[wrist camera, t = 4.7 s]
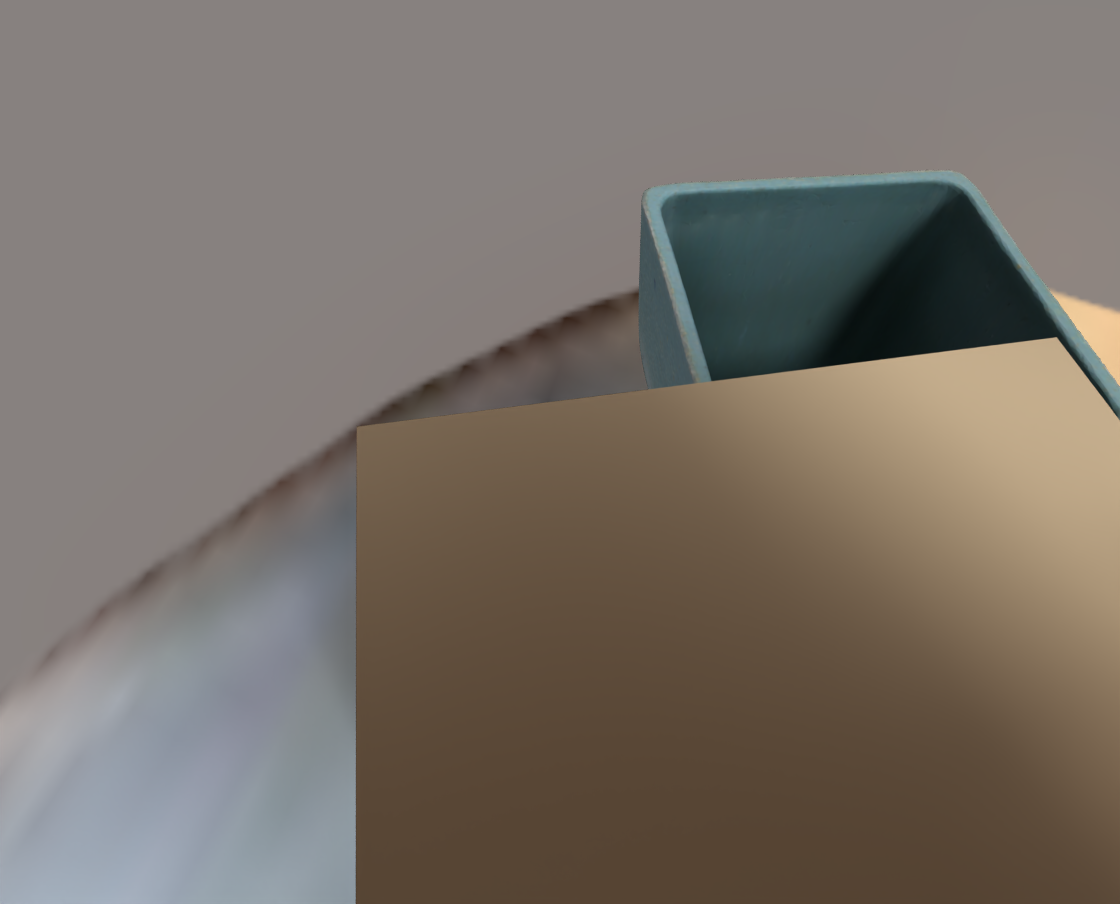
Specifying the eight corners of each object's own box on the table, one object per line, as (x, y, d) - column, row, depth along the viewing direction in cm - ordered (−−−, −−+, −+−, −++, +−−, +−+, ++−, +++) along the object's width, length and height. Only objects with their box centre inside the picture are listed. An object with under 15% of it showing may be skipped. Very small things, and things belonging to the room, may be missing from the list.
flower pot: (838, 375, 25) (967, 161, 17) (934, 598, 20) (1170, 443, 12) (610, 394, 24) (638, 181, 16) (654, 628, 19) (721, 484, 12)
